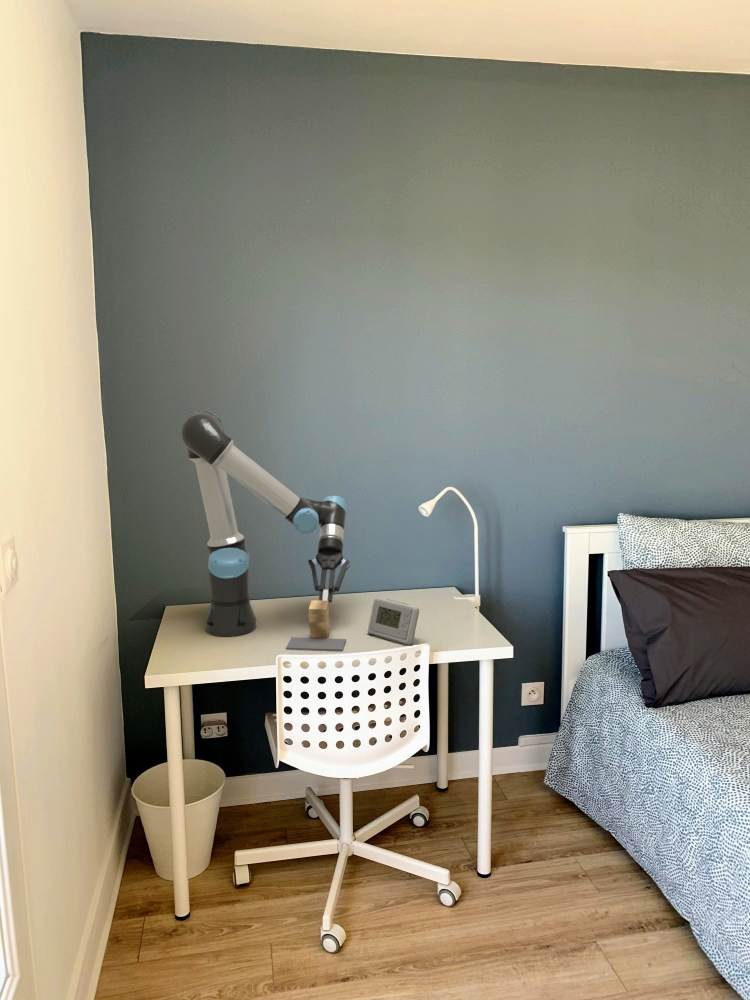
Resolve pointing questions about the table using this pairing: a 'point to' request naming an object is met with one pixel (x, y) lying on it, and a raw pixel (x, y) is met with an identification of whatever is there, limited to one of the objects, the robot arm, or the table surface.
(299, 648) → the mat
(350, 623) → the table surface
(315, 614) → the oak block
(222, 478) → the robot arm
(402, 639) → the digital clock
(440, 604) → the table surface
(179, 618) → the table surface
